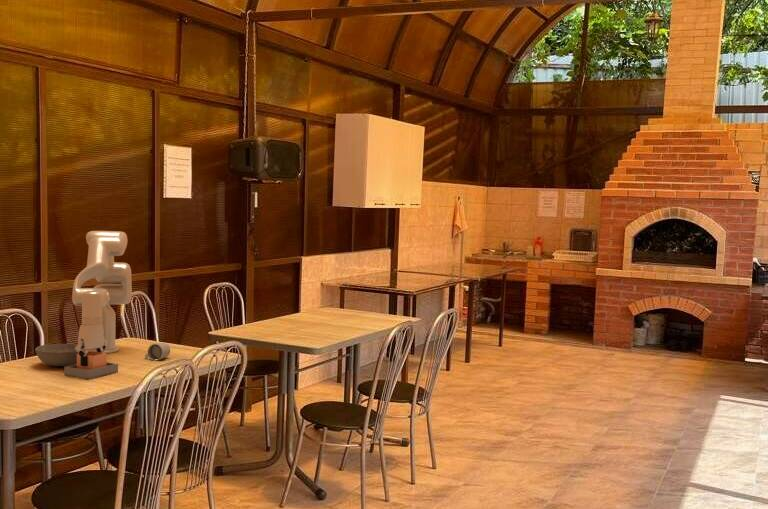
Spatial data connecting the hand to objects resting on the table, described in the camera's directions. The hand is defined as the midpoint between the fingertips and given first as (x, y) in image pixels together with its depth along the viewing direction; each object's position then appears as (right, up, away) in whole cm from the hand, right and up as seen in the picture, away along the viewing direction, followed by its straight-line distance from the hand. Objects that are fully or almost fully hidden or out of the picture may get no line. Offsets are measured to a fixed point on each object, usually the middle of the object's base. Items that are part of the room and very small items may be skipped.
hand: (91, 363), depth 305 cm
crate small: (0, -2, 0) cm, 2 cm away
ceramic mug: (+16, -3, +33) cm, 37 cm away
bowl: (-18, -3, +14) cm, 23 cm away
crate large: (0, -4, 0) cm, 4 cm away
